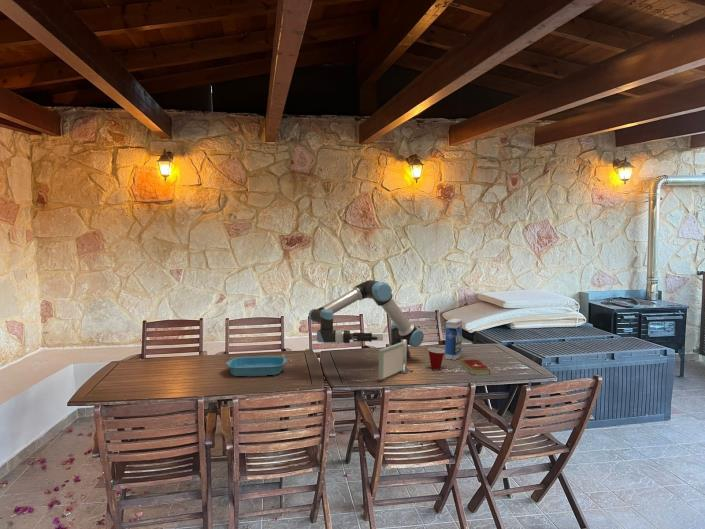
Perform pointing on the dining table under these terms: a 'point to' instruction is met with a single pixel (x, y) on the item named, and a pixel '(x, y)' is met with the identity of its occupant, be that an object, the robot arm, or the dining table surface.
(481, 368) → the hardcover book
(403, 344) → the post
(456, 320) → the string lights box
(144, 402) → the dining table surface
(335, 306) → the robot arm
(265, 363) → the casserole dish
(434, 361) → the plastic cup
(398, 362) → the beige panel
